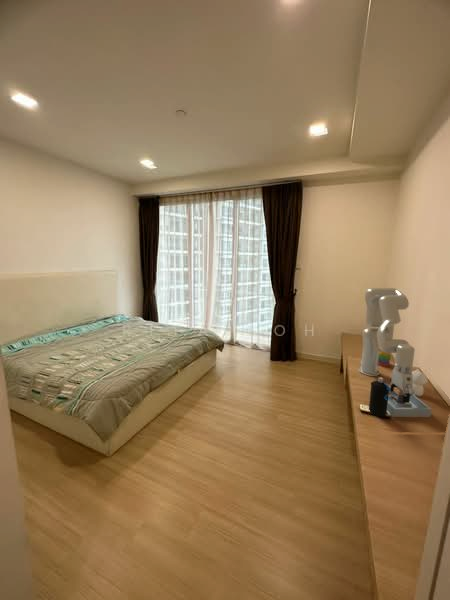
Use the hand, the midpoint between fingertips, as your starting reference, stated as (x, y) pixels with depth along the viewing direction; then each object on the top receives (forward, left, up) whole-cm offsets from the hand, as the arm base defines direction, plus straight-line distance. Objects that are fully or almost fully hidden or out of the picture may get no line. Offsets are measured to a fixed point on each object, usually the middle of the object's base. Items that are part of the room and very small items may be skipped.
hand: (399, 396), depth 127 cm
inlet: (0, 0, -5) cm, 5 cm away
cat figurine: (-12, +15, -6) cm, 20 cm away
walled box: (0, 0, -5) cm, 5 cm away
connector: (0, 0, -5) cm, 5 cm away
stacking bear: (-49, +20, -6) cm, 53 cm away
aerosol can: (+6, -14, -6) cm, 17 cm away
